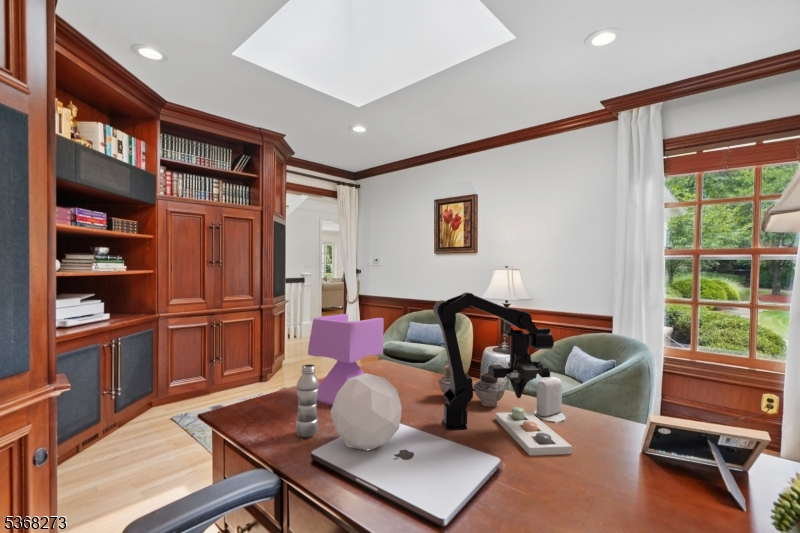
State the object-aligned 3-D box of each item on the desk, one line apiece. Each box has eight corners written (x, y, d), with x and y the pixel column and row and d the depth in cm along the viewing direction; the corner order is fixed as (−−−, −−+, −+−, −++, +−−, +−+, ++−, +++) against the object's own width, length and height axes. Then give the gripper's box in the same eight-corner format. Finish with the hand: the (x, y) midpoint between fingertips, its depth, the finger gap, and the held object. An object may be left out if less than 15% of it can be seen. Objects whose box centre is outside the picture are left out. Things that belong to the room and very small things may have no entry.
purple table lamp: (382, 395, 140) (383, 318, 141) (348, 411, 123) (350, 323, 124) (342, 386, 151) (344, 313, 151) (306, 399, 134) (308, 318, 135)
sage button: (514, 421, 115) (515, 412, 115) (509, 416, 118) (509, 407, 119) (527, 421, 115) (527, 411, 115) (521, 416, 119) (521, 407, 119)
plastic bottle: (322, 432, 107) (324, 364, 108) (309, 442, 101) (311, 369, 101) (303, 428, 109) (305, 362, 110) (290, 438, 103) (292, 367, 103)
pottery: (442, 391, 147) (443, 362, 147) (506, 401, 137) (506, 369, 137) (434, 400, 137) (434, 368, 137) (502, 411, 127) (503, 377, 127)
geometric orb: (377, 478, 96) (387, 438, 84) (315, 440, 102) (316, 397, 90) (407, 421, 111) (419, 380, 99) (352, 390, 116) (357, 348, 105)
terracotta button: (526, 437, 107) (526, 426, 107) (520, 431, 111) (520, 421, 111) (539, 436, 107) (539, 426, 107) (532, 430, 111) (533, 421, 111)
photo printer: (552, 408, 131) (552, 373, 131) (563, 412, 127) (563, 376, 128) (534, 413, 125) (535, 377, 126) (545, 418, 122) (546, 381, 122)
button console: (529, 455, 96) (529, 447, 96) (495, 418, 120) (495, 412, 120) (572, 453, 98) (572, 446, 98) (530, 418, 121) (530, 412, 121)
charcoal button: (540, 450, 99) (540, 439, 99) (533, 443, 103) (533, 432, 103) (554, 450, 99) (554, 439, 99) (546, 443, 103) (546, 432, 103)
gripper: (501, 355, 108) (500, 407, 108) (560, 354, 110) (559, 406, 110) (488, 347, 119) (487, 395, 119) (541, 347, 121) (541, 394, 121)
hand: (518, 397), depth 117 cm, fingers closed
